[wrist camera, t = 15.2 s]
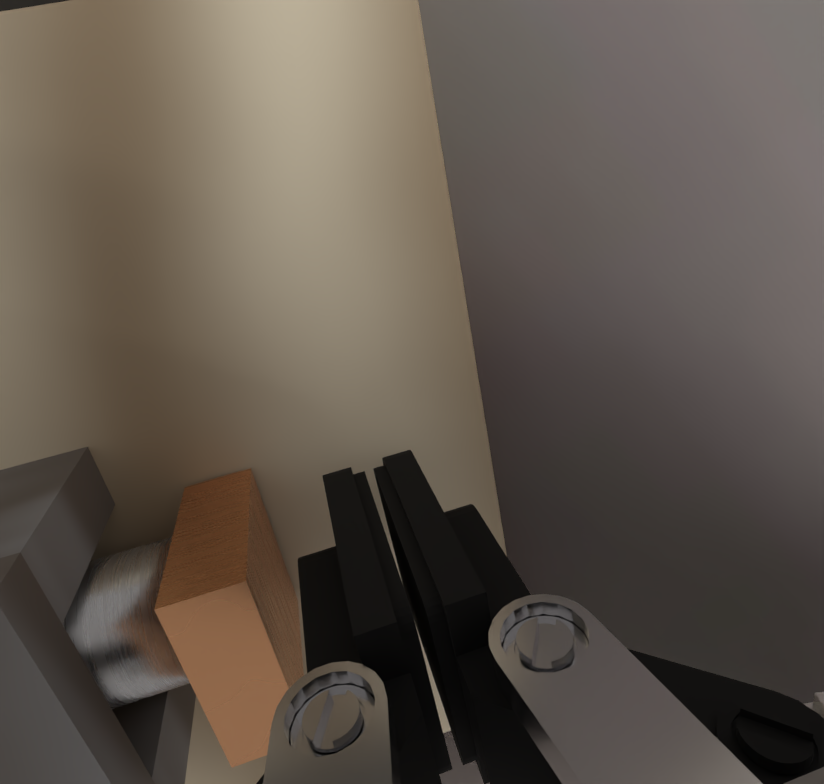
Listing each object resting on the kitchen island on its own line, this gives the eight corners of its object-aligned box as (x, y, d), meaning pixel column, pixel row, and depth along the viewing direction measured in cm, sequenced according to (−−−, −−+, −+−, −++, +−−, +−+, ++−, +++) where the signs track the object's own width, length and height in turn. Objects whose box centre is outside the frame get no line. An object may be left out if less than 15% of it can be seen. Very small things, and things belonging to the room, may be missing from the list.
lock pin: (250, 468, 11) (245, 580, 8) (297, 600, 12) (309, 739, 9) (-236, 606, 9) (-458, 801, 7) (-126, 736, 11) (-272, 948, 8)
